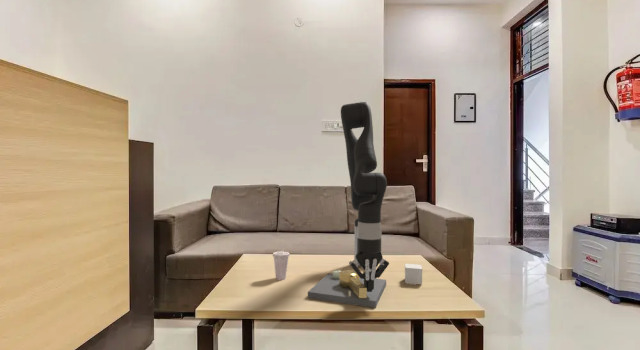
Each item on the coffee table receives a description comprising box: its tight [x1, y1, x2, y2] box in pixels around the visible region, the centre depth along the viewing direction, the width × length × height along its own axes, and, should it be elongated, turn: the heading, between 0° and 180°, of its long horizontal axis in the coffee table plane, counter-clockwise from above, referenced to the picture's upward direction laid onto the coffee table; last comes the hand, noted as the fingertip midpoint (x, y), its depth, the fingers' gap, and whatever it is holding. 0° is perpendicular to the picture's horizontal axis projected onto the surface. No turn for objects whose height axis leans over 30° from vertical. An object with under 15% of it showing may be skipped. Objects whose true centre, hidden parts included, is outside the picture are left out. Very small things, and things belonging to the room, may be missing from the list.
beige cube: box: [404, 263, 423, 285], centre depth 126 cm, size 6×6×6 cm
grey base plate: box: [307, 270, 387, 309], centre depth 115 cm, size 22×22×5 cm
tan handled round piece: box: [339, 269, 367, 298], centre depth 109 cm, size 18×7×4 cm, turn 11°
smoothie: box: [272, 241, 290, 281], centre depth 128 cm, size 6×6×14 cm
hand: (368, 291), depth 105 cm, fingers closed
